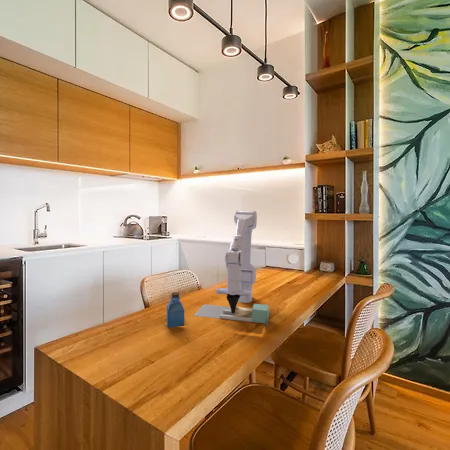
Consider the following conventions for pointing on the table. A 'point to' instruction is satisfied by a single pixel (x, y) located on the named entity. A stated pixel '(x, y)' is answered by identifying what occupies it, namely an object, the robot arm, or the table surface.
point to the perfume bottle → (175, 311)
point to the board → (222, 312)
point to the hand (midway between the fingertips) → (233, 312)
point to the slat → (243, 312)
